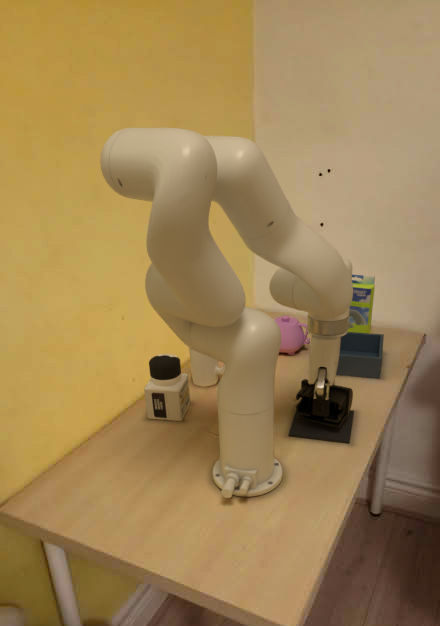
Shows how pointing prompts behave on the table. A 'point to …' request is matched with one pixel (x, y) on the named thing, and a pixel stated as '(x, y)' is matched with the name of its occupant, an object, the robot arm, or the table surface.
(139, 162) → the robot arm
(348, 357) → the bin
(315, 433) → the mat
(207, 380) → the mug
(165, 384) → the container
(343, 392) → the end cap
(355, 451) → the table surface
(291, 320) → the teapot
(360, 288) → the box
